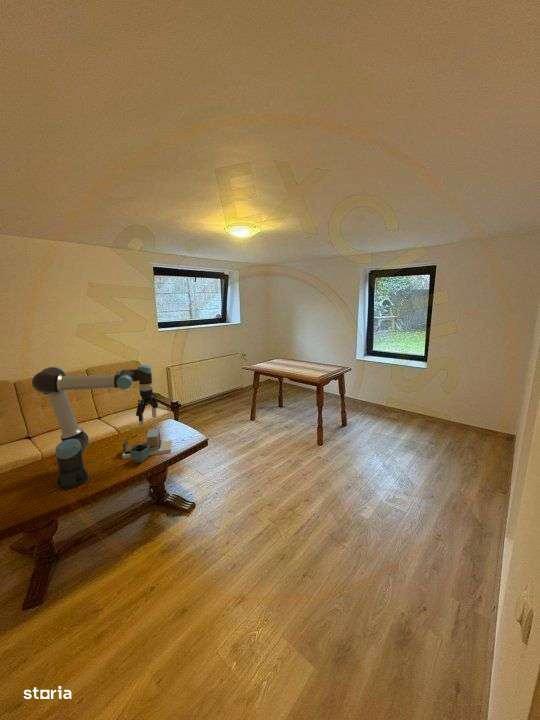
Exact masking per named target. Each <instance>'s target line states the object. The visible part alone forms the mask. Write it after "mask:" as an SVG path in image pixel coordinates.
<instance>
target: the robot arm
mask: <svg viewBox="0 0 540 720" xmlns="http://www.w3.org/2000/svg"><path fill="white" fill-rule="evenodd" d="M152 374H153V372H152V367H151V365H149V364H140V365H138V366H137V368H136V369H134V368H131V369H120V370H119V369H118V370H117V371H116V374H94V375H92V374H91V375H67V374H66V372H65V370H63V368H60V367H57V366H50V367H47V368H43V369H42V370H41V371H39V372H37V373H36V374H35V375H33V377H32V380H31V385H32V388H33V389H34V390H36V391H37V392H39V393H42V394H43V395H45V396H47V397H48V399H49V402H50V405H51V408H52V410H53V413H54V415H55V418H56V420H57V423H58V426H59V428H60V431H61V435H60V437H59V438H60V439H61V440H60V441H61V442H59V443H58V444H57V445H56V446H55V456H56V461H57V467H58V468H57V469H58V475H57V478H56V487H57V489H60V490H71V489H73V488H78V487H79V486H81V485H83V484H85V483H86V482H87V481H88V480H89V477H90V476H89V472H88V470H87V469H86V467H85V465H84V460H83V454H84V452H85V450H86V448H87V447H88V444H89V441H90V440H89V439H90V438H89V435H88V433H86V432H85V431H84V429H83V428H82V427H80V426H79V424H78V421H77V418H76V415H75V412H74V410H73V408H72V405H71V404H72V403H71V402H70V400H69V396H68V393H67V391H73V390H74V391H75V390H79V391H80V390H94V389H95V390H97V389H116V388H117V389H121V390H128V389H129V388H130V387H131V386H132V384H133V382H138V384H139V396H140V397H141V399H138V400H137V401H138V402H137V408H136V413H135V416H136V417H138V421H139V422H138V423H139V426H141V427H143V426H145V420H144V418H145V417H144V412H145V409H146V406H148V404H149V405H150V406H151V417H152V418H157V417H158V416H157V408H158V406H159V403H158V401H157V398H156V395H155V393H154V391H153V375H152Z"/></svg>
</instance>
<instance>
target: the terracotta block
mask: <svg viewBox="0 0 540 720" xmlns="http://www.w3.org/2000/svg"><path fill="white" fill-rule="evenodd" d="M158 443H159V435H158ZM149 446H150V447H155V446H157V444H156V438H153V439H149Z"/></svg>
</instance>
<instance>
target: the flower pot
mask: <svg viewBox="0 0 540 720" xmlns="http://www.w3.org/2000/svg"><path fill="white" fill-rule="evenodd" d="M137 444H138V445H136V446H135V447H134V448H132V449H131V450H130V455H131V458H130V459H132V461H133V462H135V463H139V464H142V463H144V462H145V461H146V460H147V459H148V457H149V456H150V455H149V445H140V444H141V443H137ZM148 455H149V456H148Z"/></svg>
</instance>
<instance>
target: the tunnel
mask: <svg viewBox="0 0 540 720" xmlns="http://www.w3.org/2000/svg"><path fill="white" fill-rule="evenodd" d="M160 432H161V430H160V428H154V429H153V428H152V429H148V431H147V435H146V443H147V445H149V439H153V438H156V444H157V447H155V448H150V446H149V451H157V450H159V443H158V435H159V441H160V440H161V433H160Z"/></svg>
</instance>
